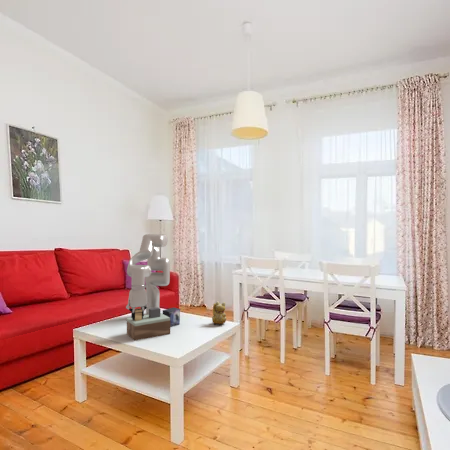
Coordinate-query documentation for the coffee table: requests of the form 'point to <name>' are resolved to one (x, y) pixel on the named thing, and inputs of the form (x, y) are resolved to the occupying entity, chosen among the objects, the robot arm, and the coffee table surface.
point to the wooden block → (138, 314)
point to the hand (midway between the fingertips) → (137, 318)
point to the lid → (150, 318)
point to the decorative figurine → (219, 313)
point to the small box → (173, 316)
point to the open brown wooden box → (148, 330)
